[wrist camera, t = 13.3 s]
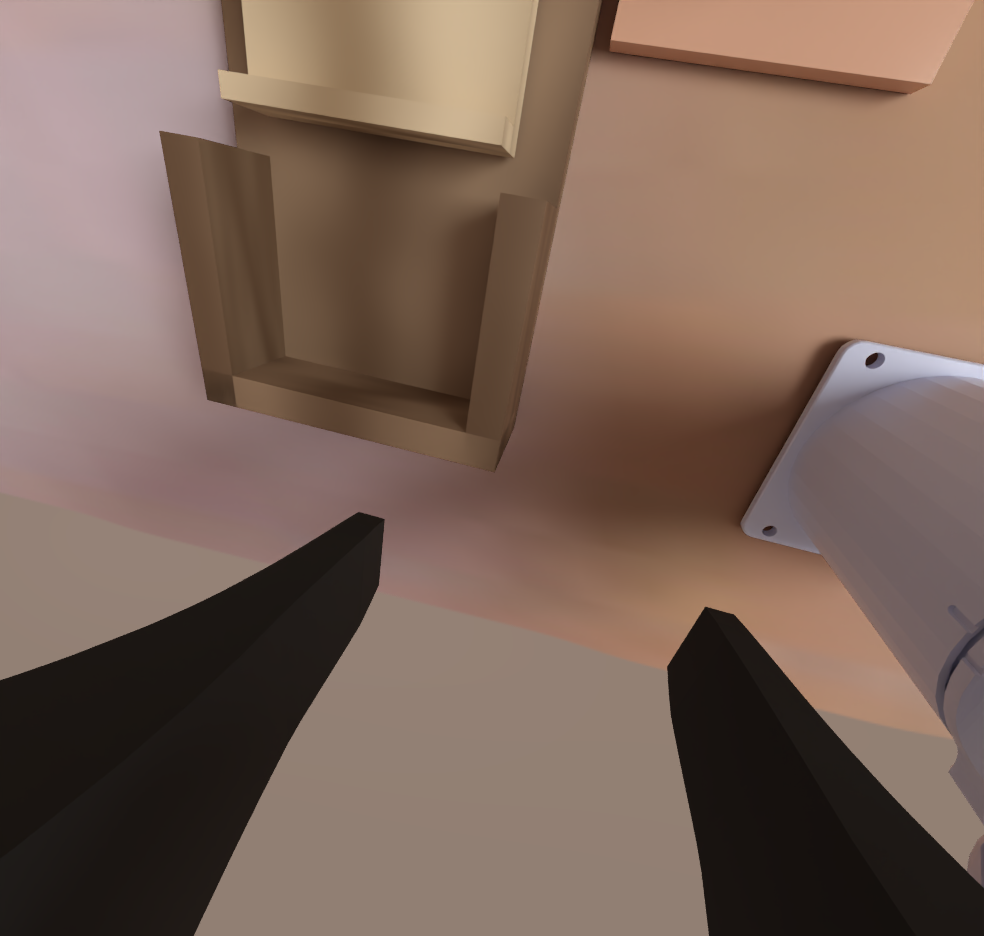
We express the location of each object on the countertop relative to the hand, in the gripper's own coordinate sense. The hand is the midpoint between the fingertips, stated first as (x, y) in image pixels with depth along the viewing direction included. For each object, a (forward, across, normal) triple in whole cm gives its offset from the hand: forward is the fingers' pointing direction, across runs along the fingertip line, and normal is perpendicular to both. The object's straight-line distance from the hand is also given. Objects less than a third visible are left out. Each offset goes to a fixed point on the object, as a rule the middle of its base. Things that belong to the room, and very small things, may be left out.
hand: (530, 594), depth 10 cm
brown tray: (+10, +7, -6) cm, 14 cm away
